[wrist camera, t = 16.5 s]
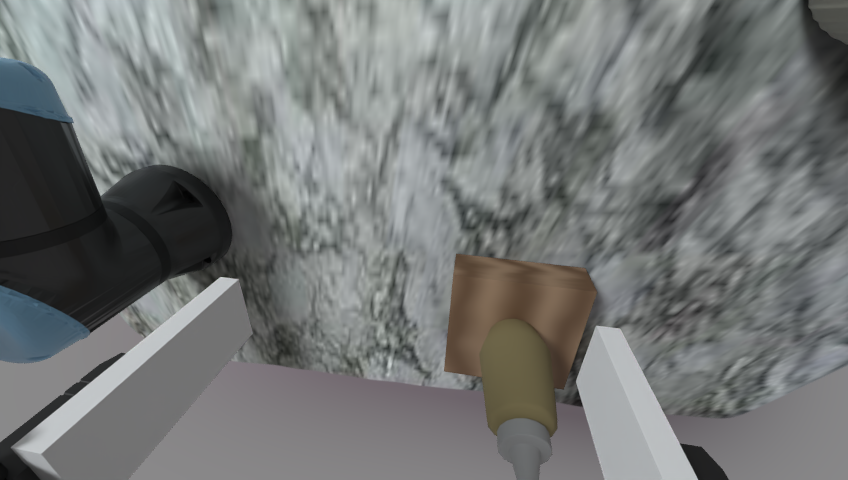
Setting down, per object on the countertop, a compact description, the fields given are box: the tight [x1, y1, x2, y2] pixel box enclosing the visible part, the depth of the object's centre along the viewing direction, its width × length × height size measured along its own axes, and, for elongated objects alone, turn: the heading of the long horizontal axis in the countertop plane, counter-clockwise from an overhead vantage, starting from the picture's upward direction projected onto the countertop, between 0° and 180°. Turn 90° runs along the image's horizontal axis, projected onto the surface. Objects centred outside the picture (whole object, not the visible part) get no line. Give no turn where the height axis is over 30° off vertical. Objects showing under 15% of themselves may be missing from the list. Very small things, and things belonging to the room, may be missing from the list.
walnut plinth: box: [444, 254, 597, 390], centre depth 44 cm, size 16×16×5 cm
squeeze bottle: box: [479, 319, 557, 480], centre depth 34 cm, size 8×8×18 cm
